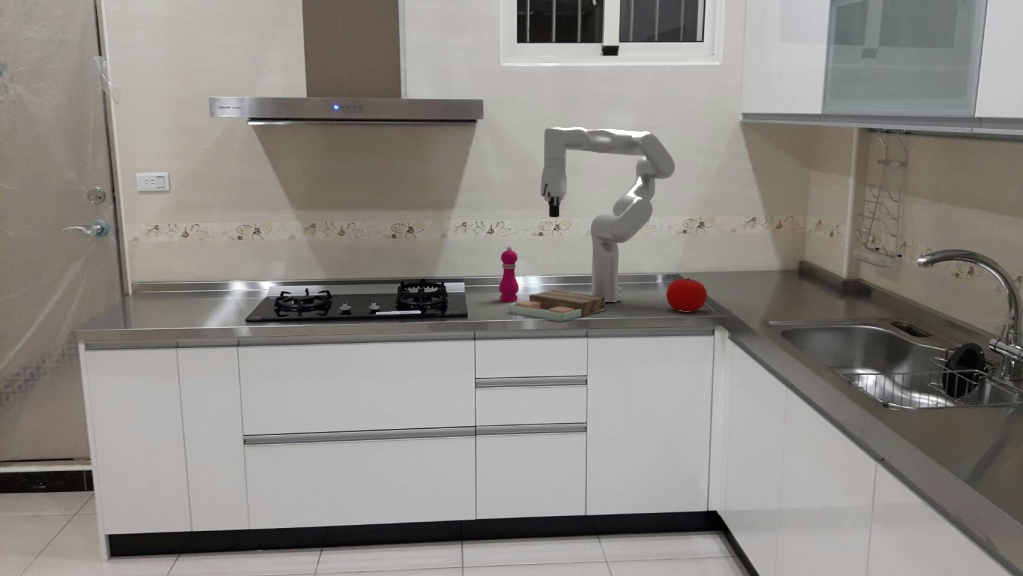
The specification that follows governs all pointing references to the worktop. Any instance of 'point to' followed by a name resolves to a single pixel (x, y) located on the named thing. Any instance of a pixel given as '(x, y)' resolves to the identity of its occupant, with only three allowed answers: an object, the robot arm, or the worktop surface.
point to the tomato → (686, 295)
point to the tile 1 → (529, 304)
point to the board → (569, 301)
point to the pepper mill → (508, 277)
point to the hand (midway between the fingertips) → (554, 216)
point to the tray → (544, 313)
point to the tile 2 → (561, 310)
